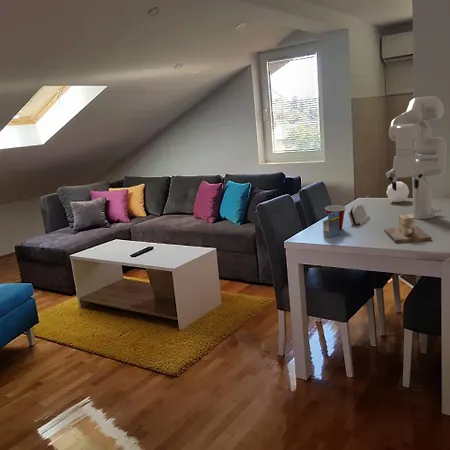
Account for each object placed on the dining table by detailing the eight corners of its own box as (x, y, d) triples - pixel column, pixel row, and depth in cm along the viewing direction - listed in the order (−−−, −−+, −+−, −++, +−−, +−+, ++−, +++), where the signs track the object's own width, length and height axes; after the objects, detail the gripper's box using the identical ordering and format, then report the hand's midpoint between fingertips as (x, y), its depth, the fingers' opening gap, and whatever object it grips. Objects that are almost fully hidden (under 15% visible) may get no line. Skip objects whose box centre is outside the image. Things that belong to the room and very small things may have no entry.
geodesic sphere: (409, 195, 300) (408, 175, 305) (385, 196, 305) (385, 177, 310) (409, 205, 312) (409, 186, 317) (386, 206, 317) (387, 187, 322)
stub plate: (417, 229, 245) (417, 219, 244) (431, 240, 224) (431, 229, 223) (384, 231, 247) (384, 221, 246) (395, 243, 226) (395, 232, 224)
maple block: (409, 230, 239) (409, 214, 237) (414, 234, 231) (414, 217, 229) (399, 231, 239) (398, 215, 237) (403, 235, 231) (403, 218, 230)
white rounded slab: (360, 225, 264) (354, 208, 264) (352, 227, 267) (346, 210, 267) (370, 218, 277) (364, 201, 277) (362, 220, 280) (356, 204, 280)
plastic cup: (332, 232, 254) (331, 210, 252) (322, 229, 265) (321, 207, 262) (351, 229, 257) (350, 207, 255) (340, 225, 267) (339, 204, 265)
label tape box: (333, 233, 254) (332, 209, 251) (340, 233, 251) (339, 210, 248) (323, 237, 248) (321, 213, 246) (330, 238, 245) (328, 214, 243)
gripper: (421, 150, 230) (422, 186, 234) (383, 153, 232) (384, 189, 236) (426, 151, 223) (427, 188, 227) (387, 155, 225) (388, 192, 228)
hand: (405, 189), depth 231 cm, fingers open, 9 cm apart
